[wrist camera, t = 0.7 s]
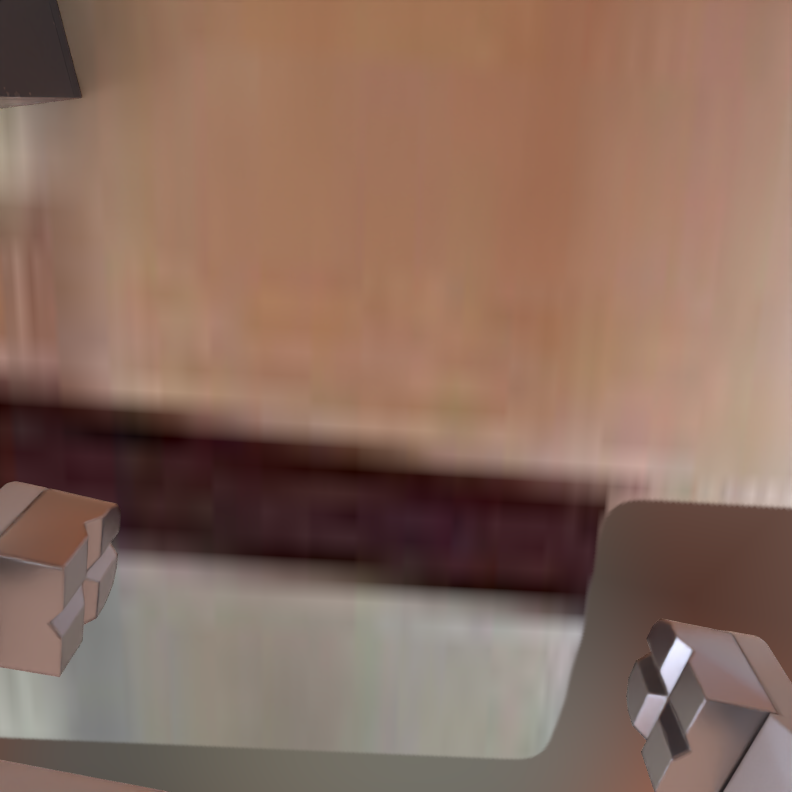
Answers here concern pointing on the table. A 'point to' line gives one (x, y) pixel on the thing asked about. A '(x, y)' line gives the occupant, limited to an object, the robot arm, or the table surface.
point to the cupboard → (34, 54)
